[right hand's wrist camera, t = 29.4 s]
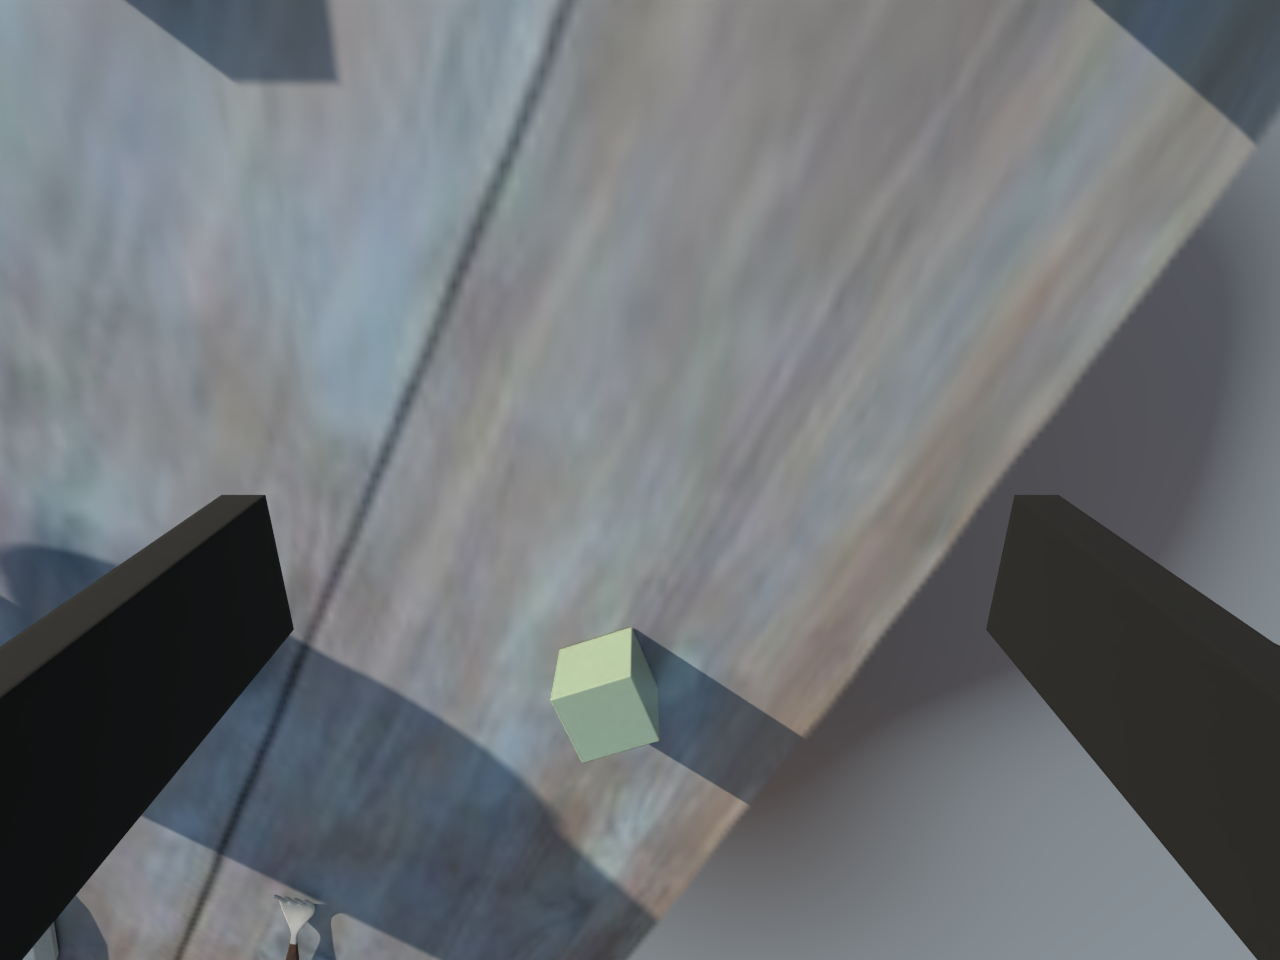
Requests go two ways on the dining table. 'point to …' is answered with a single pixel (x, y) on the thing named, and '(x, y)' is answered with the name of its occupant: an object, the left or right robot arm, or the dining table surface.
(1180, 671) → the right robot arm
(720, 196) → the dining table surface
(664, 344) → the dining table surface
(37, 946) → the wall clock
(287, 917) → the fork
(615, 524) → the dining table surface
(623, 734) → the sage block
